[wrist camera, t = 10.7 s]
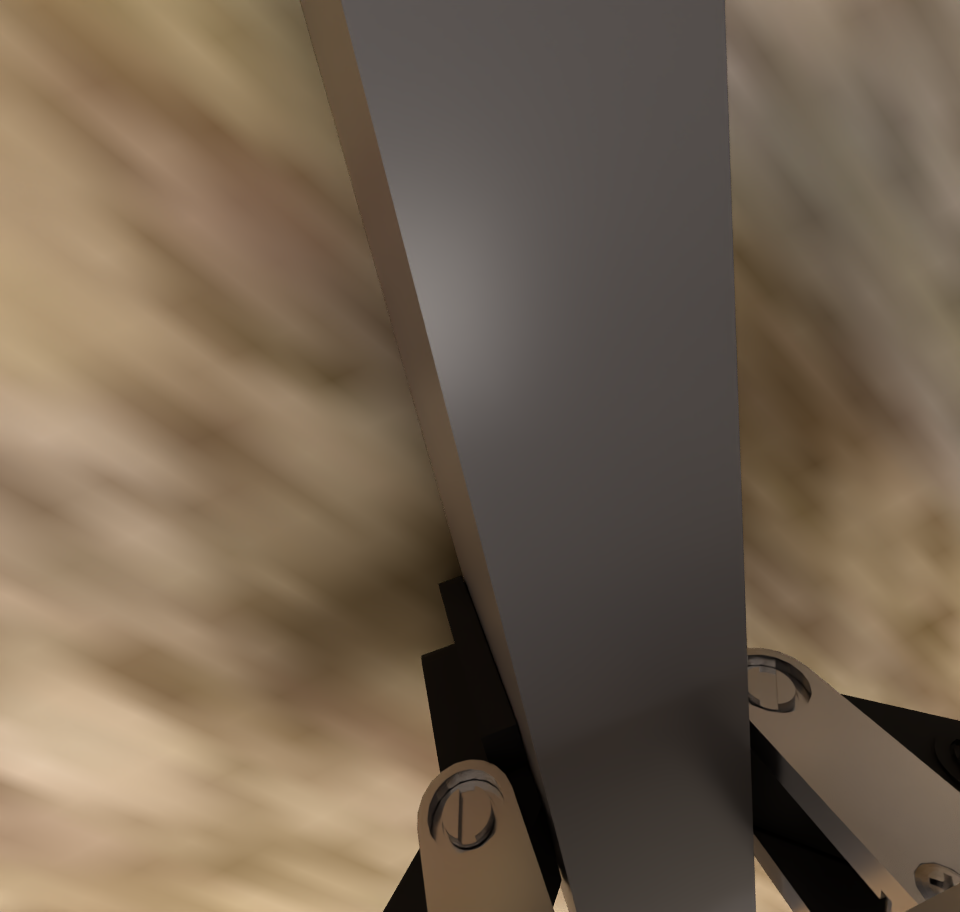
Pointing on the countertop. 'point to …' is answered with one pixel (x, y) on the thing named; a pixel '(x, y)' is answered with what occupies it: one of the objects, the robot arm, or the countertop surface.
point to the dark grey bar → (576, 396)
